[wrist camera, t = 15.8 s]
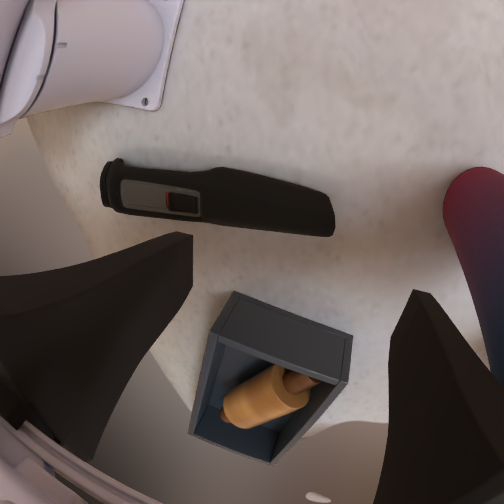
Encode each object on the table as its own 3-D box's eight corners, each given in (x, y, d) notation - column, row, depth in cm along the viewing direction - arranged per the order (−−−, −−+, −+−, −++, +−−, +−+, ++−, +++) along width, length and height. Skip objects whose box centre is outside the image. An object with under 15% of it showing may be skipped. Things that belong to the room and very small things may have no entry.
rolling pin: (211, 389, 28) (206, 427, 25) (293, 338, 22) (293, 389, 19) (246, 402, 29) (243, 438, 26) (331, 357, 23) (335, 403, 20)
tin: (204, 401, 32) (187, 433, 28) (233, 290, 23) (209, 331, 19) (284, 431, 30) (273, 466, 27) (353, 335, 22) (348, 383, 18)
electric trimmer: (332, 238, 19) (328, 265, 17) (117, 203, 23) (90, 220, 20) (342, 179, 17) (340, 196, 15) (113, 154, 21) (83, 166, 18)
